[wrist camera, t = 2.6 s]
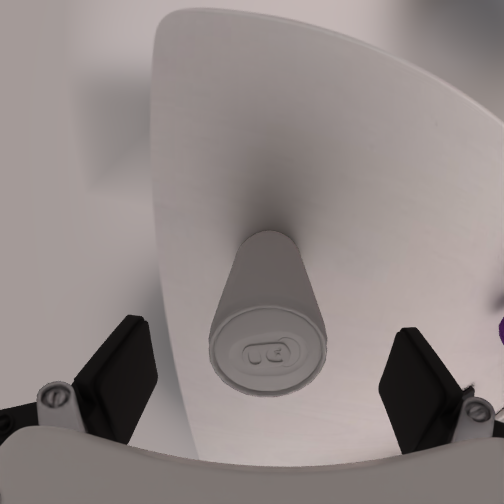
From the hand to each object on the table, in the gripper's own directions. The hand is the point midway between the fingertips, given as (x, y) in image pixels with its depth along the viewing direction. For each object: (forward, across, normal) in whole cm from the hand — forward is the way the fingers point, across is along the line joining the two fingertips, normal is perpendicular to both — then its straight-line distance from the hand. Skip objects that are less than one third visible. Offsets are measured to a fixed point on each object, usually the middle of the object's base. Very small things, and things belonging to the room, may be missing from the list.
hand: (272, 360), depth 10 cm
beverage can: (+13, 0, 0) cm, 13 cm away
